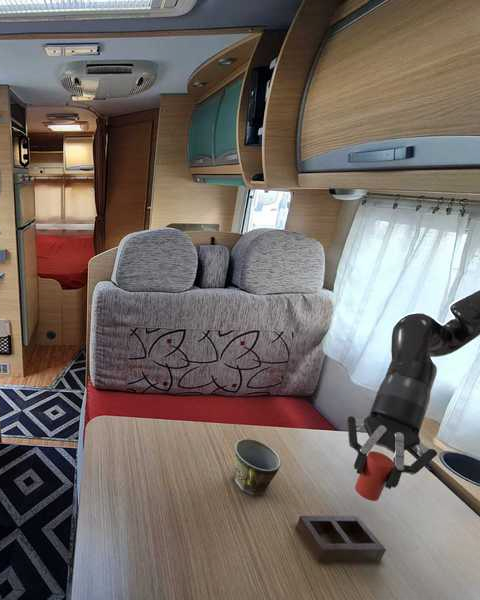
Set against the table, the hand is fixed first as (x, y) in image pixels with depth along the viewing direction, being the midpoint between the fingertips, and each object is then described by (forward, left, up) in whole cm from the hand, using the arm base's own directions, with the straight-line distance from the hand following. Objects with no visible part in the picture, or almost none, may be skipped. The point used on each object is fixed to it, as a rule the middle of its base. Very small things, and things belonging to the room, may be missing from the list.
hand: (373, 479), depth 64 cm
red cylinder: (-1, -2, -5) cm, 5 cm away
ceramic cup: (+19, -4, -18) cm, 27 cm away
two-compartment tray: (+2, +2, -18) cm, 18 cm away
